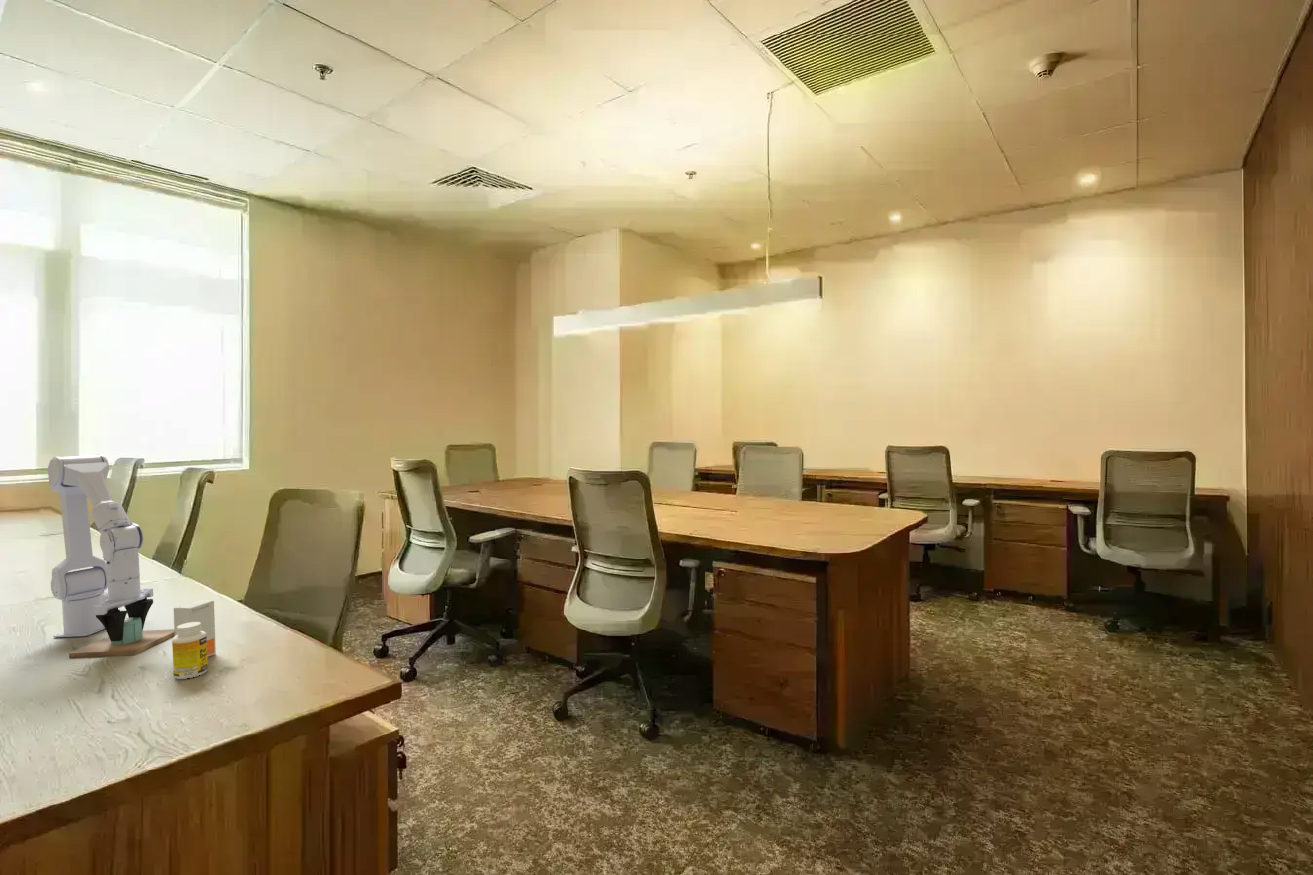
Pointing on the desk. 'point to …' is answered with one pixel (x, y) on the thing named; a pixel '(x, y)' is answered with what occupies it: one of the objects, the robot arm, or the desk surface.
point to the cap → (130, 631)
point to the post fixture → (123, 645)
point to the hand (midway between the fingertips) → (127, 636)
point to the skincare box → (198, 620)
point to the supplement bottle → (189, 651)
